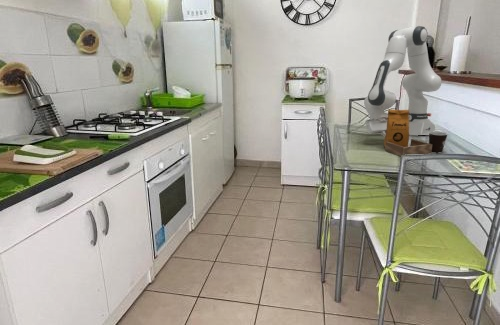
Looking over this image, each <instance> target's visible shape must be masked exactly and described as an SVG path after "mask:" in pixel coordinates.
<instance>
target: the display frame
mask: <svg viewBox="0 0 500 325" xmlns="http://www.w3.org/2000/svg"><path fill="white" fill-rule="evenodd" d="M409 145H410V146H409ZM409 145H408V147H403V146H400V145H396V144H393V143H390V142H386V145H385V146H384V151H385V152H388V153H390V154H393V155H397V156H398V157H401V155H405V154H424V155H429V154H428V153H431V154H432V152H431V151H432V144H429V142H425V141H423V140H422V141H421V140H418V139H415V138H411V139H410V143H409Z"/></svg>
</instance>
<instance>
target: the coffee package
mask: <svg viewBox="0 0 500 325" xmlns="http://www.w3.org/2000/svg"><path fill="white" fill-rule="evenodd" d="M387 110H388V111H387V113H388V120H387V129H386V133H385V134H386V135H385V137H384V141H383V146H384V147H385V145H386V142H390V143H393V144H396V145H400V146H403V147H409V141H410V135H409V110H408V109H390V108H388V109H387Z"/></svg>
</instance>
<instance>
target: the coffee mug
mask: <svg viewBox="0 0 500 325" xmlns="http://www.w3.org/2000/svg"><path fill="white" fill-rule="evenodd" d="M447 137H448V133H446V132H441V131H437V132H430V133H429V136H428V143H429V144H432V151H431V153H432V152H442V153H443V151H444V147H445V144H446V140H447Z"/></svg>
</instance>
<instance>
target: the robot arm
mask: <svg viewBox="0 0 500 325" xmlns="http://www.w3.org/2000/svg"><path fill="white" fill-rule="evenodd" d="M428 35H429V34H428V30H427V28H425V26H423V25H422V26H421V25H418V26H411V27H410V26H409V27H405V28H402V29H397V30H393V31H391V32H390V34H389V36H388V44H387V47H386V49H385V54H384V56H383V61H381V62H380V64H379V66H378V68H377V72H376V74H375V77H374V81H373V83H372V86H371V89H370V90H369V92H368V95H367V96H365V98H364V101H363V104H364V108H365V110H366V112H367V114H368V115H369V119H366V120H365V122H364V123H365V125H366V129H367V131H368V133H369V135H377V134H380V135H381V136H382V137H383V138H385V135H386V129H387V120H388V112H385V111H386V110H389V109H390V108H392V107H393V106H395V104H396V102H397V95H396V94H395V93H393V92H391V91H389V90H385V85H386V81H387V78H388V75H389V74H390V73H391V72H394V71H397V70H399V69H401V67H402V66H403V64H404V62H405V58H406V55H407V59H408V60H407V61H408V67H409V69H411V71H413V73H411V74H406V75H405V76H404V77H403V78H402V81H401V83H402V84H401V85H402V88H404V90H405V91H406V94H407V97H408V109H407V110H409V136H418V135H428V134H429V133H430V132H433V131H436V129H435V128H436V126H435V124H434V123H433V121H431V120H430V119H429V117H432V113H429V112H427V111H428V110H427V109H428V103H429V101H428V99H427V98H426V97H425V96H424V94H423V92H425V93H429V92H430V93H432V92H436V91H438V90H439V89H440V88H441V86H442V78H441V76H440V75H438V74H437V73H436V72H435V71H434V70H433V68H432V66H431V63H430V59H429V53H428V46H427V39H428Z"/></svg>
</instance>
